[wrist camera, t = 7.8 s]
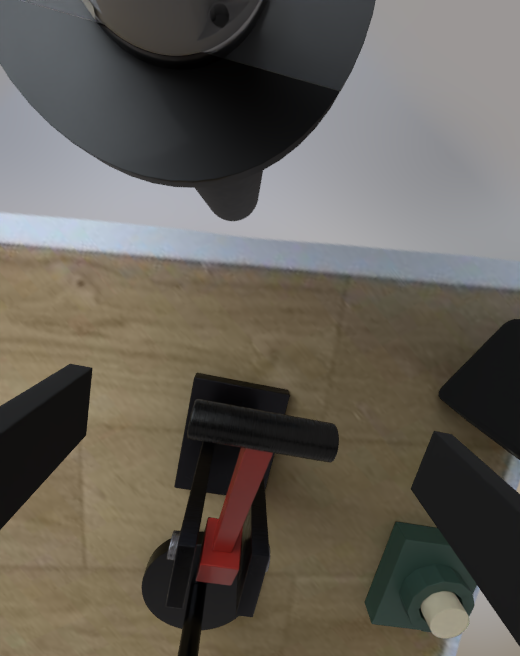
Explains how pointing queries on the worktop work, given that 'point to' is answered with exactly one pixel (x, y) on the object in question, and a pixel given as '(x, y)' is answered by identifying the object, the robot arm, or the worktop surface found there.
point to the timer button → (445, 614)
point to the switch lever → (249, 470)
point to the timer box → (415, 577)
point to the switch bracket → (222, 491)
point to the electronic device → (491, 388)
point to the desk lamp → (188, 599)
